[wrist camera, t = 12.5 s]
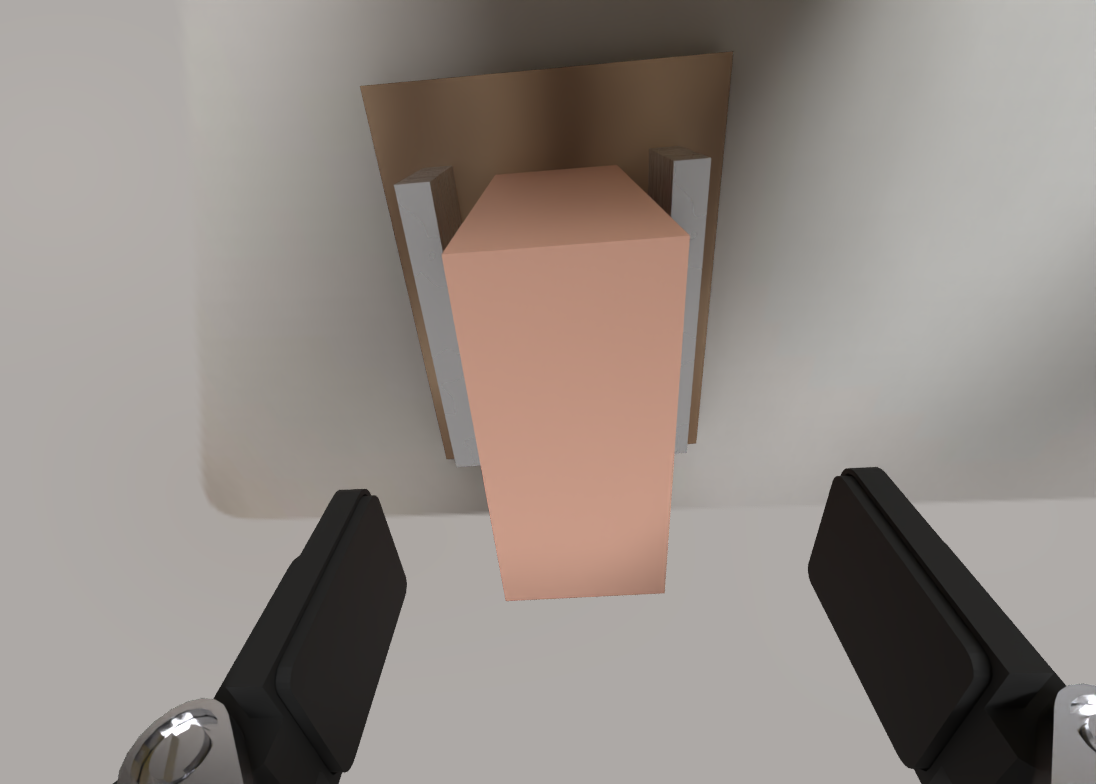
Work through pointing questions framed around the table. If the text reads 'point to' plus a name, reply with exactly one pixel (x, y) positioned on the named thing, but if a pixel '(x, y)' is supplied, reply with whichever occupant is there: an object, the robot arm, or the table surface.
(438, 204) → the bookends
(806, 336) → the table surface
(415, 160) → the shelf board
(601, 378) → the small book
